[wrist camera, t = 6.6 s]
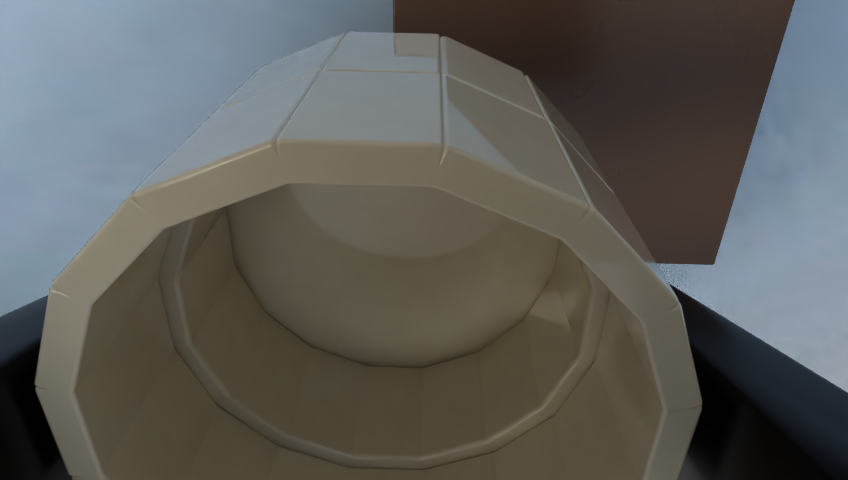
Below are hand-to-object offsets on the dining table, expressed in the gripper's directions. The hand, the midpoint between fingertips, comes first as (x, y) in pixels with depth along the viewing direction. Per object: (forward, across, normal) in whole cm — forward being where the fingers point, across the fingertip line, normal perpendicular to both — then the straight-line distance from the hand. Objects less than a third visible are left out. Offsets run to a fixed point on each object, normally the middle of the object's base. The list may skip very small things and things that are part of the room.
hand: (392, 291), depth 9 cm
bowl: (+2, 0, 0) cm, 2 cm away
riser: (+13, -4, 0) cm, 13 cm away
